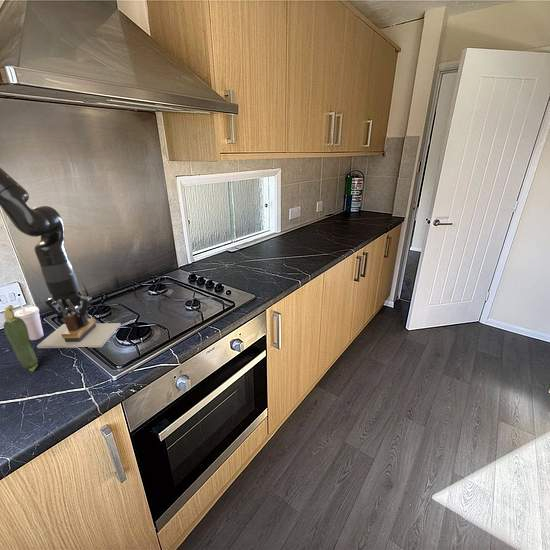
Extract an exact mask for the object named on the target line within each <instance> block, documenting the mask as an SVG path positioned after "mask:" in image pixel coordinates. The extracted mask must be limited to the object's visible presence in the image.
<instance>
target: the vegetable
mask: <svg viewBox="0 0 550 550" xmlns="http://www.w3.org/2000/svg"><path fill="white" fill-rule="evenodd" d="M4 309H5V310H4V312H3V317H4V319H5V321H4V323H3V332H4V334H5V336H6V338H7V340H8V342H9V344H10V346H11V348H12V350H13V352H14V354H15V356H16V358H17V360H18V362H19V363H20V365H21V367H23V368H24V369H25V370H28V371H31V372H35V370H36V369H37V367H38V366H39V364H38V363H39V360H38V358H37V356H36V353H35V351H34V349H33V348H32V347H33V346H32V345H31V342H30V339H29V334H28V330H27V327H26V324H25V322H24V321H23V320H22V319H20V318H18V317H15V316H14V313H15V312H14V311H15V310H16V308H15V307H14V306H13V305H12V304H9V305H8V306H6V307H5V308H4Z"/></svg>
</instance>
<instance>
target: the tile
mask: <svg viewBox="0 0 550 550" xmlns="http://www.w3.org/2000/svg"><path fill="white" fill-rule="evenodd" d="M95 324H96V327H95V328H94V329H93V330H92V331H91V332H90V333H89V334H88V335H86V336H85V337H84V338H83V339H82V340H81V341H80V342H65V339H64V338H63V337H62V335H61V334H62V333H64V332H65V331H66V330H67V326H66V324H65V323H63V324H62V325H60V326H59V327H58V328H56V329H55V330H54V331H52V332H51V333H50V334H49V335H48V336H46V337H45V338H44V339H43V340H42V341H41V342H39V343H38V344H37V345H36V348H37V349H78V348H77V347H88V348H89V349H91V348H95V349H97V348H103V347H104V345H105V344H106V343H107V342H108V341H109V340H110V339H111V338H112V337H113V335H114V334H116V332H117V331H118V330H119V329H120V328H121V326H122V323H121V322H110V323H109V322H107V323H106V322H104V323H103V322H102V323H100V322H99V323H97V322H95ZM118 328H119V329H118ZM117 329H118V330H117ZM116 330H117V331H116ZM88 348H87V349H88Z"/></svg>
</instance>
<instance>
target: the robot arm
mask: <svg viewBox="0 0 550 550" xmlns="http://www.w3.org/2000/svg"><path fill="white" fill-rule="evenodd" d="M29 199H30V195H29V193H28V191H27V190H26V189H25V188H24V187H23V186H22V185H21V184H20V183H19V182H17V181H16V180H15V179H14V178H13V177H12V176H11V175H9V174H8V173H7V171H5V170H4V169H3V168H2V167H0V208H1V209H2V210H3V212H4V214H5V215H6V216H7V218H8V219H9V220H10V222H11V223H12V224H13V226H14V227H15V228H16V229H17V230H18V231H19V232H20V233H22V234H24V235H26V236H28V237H34V238H37V237H40V241H39V242H38V243H37V244H36V245H34V248H33V249H34V253H35V256H36V259H37V261H38V264H39V267H40V271H41V274H42V277H43V280H44V282H45V285H46V288H47V290H48V292H49V295H51V297H50V298H48V299H47V300H45V302H44V303H45V304H46V305H47V306H48V307H49V308H50V310H51V311H53V313H55V315H56V316H57V317H62V318H63V317H65V316H66V315H67V314H69V313H70V312H71V311H72V312H74V313H75V315H76V317H77V321H78V323H79V326H80V327H84V326H85V325H86V323H87V321H86V318H85V314H86V315H87V314H88V313H89V312H90V311H91V306H92V301H93V297H92V296H90V295H88V296H86V295H83V293H82V292H81V290H80V284H79V281H78V277H77V275H76V272H75V269H74V266H73V263H72V262H71V260H70V258H69V255H68V252H67V251H68V250H67V249H66V245H65V228H64V227H65V226H64V221H63V219H62V216H61V214H60V213H59V212H58V211H57V210H56V209H55V208H54V207H52V206H48V205H40V206H37V207H33V208H30V207H29V206H28V204H27V202H28V201H29ZM78 310H79V311H78Z"/></svg>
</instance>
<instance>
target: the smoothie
mask: <svg viewBox="0 0 550 550" xmlns="http://www.w3.org/2000/svg"><path fill="white" fill-rule="evenodd" d="M17 301H18V304H19V306H20V309H18V310H16V311H15V312H13V313H14V316H15V317H18V318H20V319H22V320H23V321H24V322H25V324H26V327H27V330H28V334H29V341H36V340H39V339H41V338H43V337H44V335H45V334H44V330H43V326H42V321H41V316H40V309H39V307H38V306H34V305H32V306H26V307H24V305H23V302H22V300H21V298H17Z"/></svg>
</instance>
